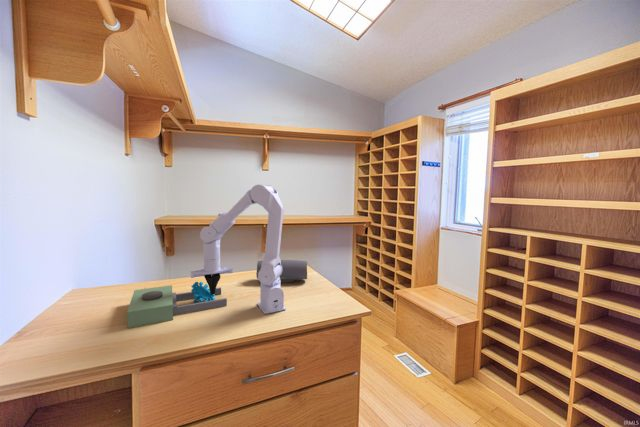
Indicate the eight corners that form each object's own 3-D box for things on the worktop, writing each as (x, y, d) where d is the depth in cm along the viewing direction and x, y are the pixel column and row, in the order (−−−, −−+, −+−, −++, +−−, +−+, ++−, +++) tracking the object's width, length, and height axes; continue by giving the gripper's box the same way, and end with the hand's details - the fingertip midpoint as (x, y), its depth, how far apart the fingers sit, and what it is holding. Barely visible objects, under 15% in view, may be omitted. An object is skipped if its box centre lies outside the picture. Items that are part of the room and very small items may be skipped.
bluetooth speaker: (306, 278, 132) (307, 257, 131) (307, 284, 123) (307, 262, 122) (259, 278, 130) (259, 257, 130) (256, 284, 121) (256, 262, 120)
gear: (205, 305, 95) (188, 283, 97) (193, 316, 95) (177, 293, 97) (222, 297, 106) (207, 277, 107) (211, 307, 106) (197, 287, 108)
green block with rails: (228, 309, 96) (228, 292, 95) (127, 328, 81) (126, 308, 81) (219, 290, 113) (219, 276, 112) (134, 303, 99) (134, 287, 98)
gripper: (230, 254, 108) (230, 287, 109) (189, 257, 101) (190, 293, 102) (233, 258, 102) (233, 293, 103) (191, 262, 95) (191, 299, 96)
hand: (212, 293), depth 102 cm, fingers closed
